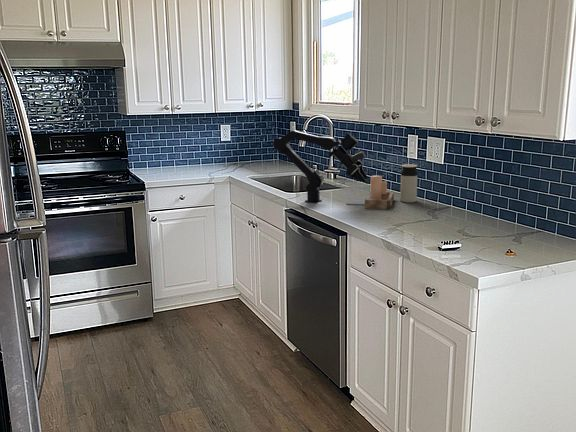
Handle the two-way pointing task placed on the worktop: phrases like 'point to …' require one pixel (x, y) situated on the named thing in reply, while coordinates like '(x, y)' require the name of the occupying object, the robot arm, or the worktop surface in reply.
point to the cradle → (381, 202)
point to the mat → (356, 202)
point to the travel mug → (408, 183)
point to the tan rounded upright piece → (377, 187)
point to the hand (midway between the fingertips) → (366, 180)
